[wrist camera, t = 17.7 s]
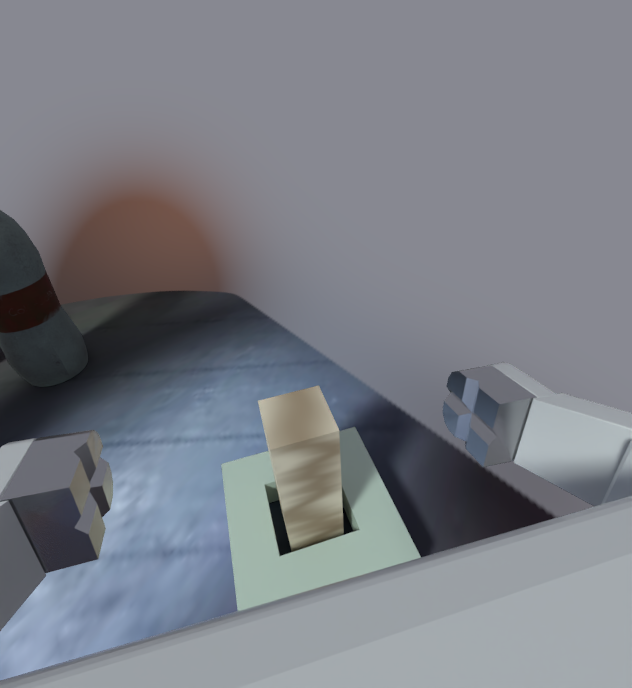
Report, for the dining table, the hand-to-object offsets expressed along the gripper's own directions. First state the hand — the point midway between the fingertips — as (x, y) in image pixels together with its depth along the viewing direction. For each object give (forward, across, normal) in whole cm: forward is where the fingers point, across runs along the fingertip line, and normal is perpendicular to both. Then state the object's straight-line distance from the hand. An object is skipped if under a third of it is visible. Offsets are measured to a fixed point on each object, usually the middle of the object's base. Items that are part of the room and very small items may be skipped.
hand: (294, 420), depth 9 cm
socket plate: (+15, -4, +24) cm, 29 cm away
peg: (+15, -4, +24) cm, 29 cm away
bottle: (+49, +24, +22) cm, 59 cm away
